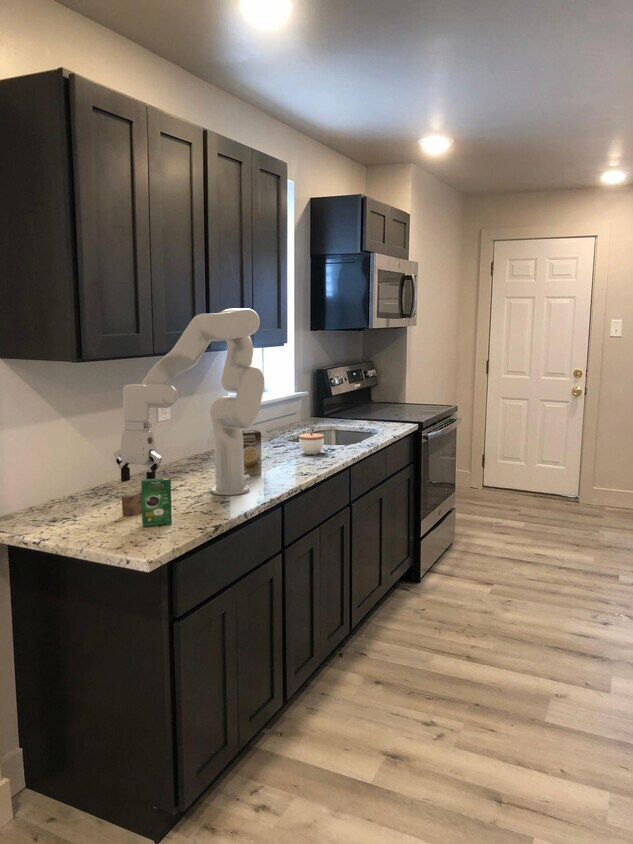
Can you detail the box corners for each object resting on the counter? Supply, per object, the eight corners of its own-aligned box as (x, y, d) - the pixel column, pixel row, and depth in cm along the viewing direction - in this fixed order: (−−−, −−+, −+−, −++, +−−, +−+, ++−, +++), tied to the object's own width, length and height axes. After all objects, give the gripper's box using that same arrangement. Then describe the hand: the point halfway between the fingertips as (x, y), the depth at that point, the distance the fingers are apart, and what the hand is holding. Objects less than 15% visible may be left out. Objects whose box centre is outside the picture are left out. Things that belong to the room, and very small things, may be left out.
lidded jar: (315, 456, 281) (315, 434, 280) (294, 454, 287) (293, 432, 286) (328, 452, 290) (328, 430, 289) (307, 449, 296) (307, 428, 295)
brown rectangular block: (153, 504, 211) (153, 485, 210) (160, 505, 210) (159, 486, 209) (122, 516, 199) (121, 496, 198) (129, 517, 198) (128, 497, 197)
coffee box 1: (171, 521, 192) (169, 476, 190) (173, 524, 190) (171, 478, 188) (142, 525, 189) (139, 479, 187) (143, 527, 187) (141, 481, 185)
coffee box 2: (237, 477, 246) (236, 433, 244) (233, 473, 252) (232, 430, 250) (262, 474, 249) (261, 431, 247) (257, 471, 255) (256, 429, 253)
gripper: (168, 426, 200) (169, 483, 202) (123, 422, 207) (124, 477, 210) (151, 429, 193) (152, 488, 195) (105, 425, 201) (107, 482, 203)
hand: (138, 482), depth 203 cm, fingers open, 9 cm apart
